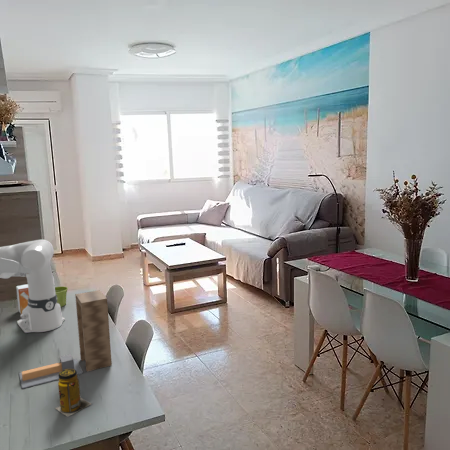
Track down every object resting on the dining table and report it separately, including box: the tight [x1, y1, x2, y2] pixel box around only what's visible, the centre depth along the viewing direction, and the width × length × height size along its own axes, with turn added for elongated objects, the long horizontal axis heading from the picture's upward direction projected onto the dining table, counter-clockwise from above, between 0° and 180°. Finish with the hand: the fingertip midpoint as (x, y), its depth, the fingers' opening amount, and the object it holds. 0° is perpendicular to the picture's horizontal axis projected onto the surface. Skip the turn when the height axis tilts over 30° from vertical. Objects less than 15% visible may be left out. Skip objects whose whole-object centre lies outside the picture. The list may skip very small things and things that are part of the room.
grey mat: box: [18, 358, 84, 390], centre depth 159 cm, size 20×12×1 cm, turn 119°
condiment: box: [54, 369, 92, 418], centre depth 138 cm, size 7×8×12 cm
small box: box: [15, 283, 29, 315], centre depth 220 cm, size 8×6×13 cm
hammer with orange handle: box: [21, 353, 75, 381], centre depth 159 cm, size 17×5×4 cm, turn 119°
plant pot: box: [55, 286, 69, 308], centre depth 227 cm, size 9×9×9 cm
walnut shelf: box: [74, 289, 113, 372], centre depth 165 cm, size 9×11×26 cm
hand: (28, 272), depth 153 cm, fingers open, 8 cm apart
